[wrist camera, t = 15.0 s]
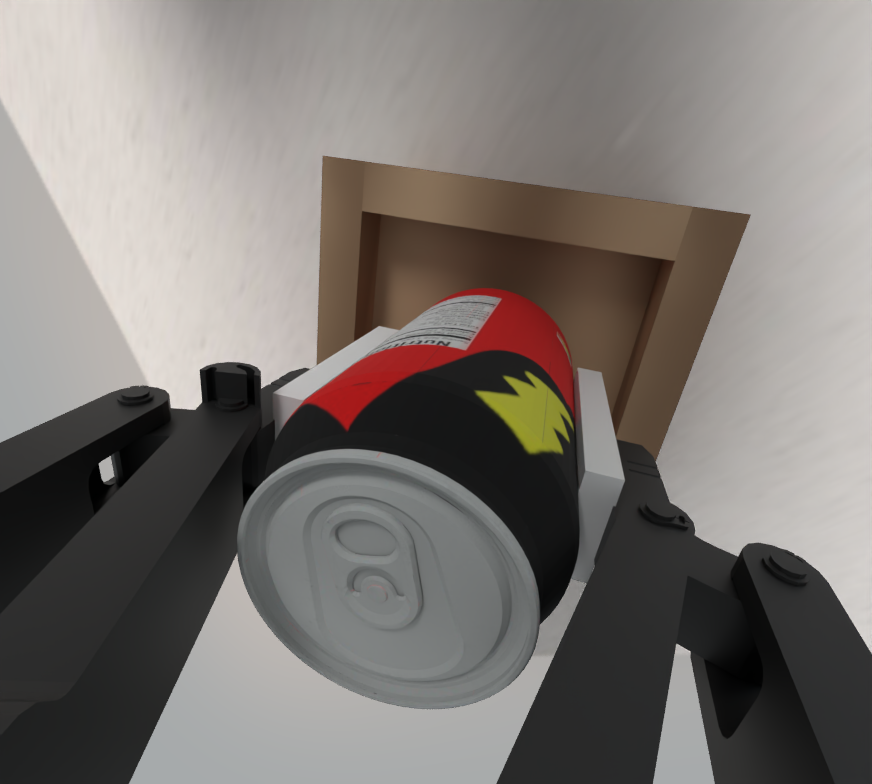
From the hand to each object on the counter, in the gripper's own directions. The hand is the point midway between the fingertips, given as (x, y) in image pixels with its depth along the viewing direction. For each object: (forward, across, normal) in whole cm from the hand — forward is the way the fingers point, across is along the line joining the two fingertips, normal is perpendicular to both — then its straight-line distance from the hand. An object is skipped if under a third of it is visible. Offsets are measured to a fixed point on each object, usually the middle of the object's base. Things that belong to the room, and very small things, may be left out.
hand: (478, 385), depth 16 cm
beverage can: (+3, 0, 0) cm, 3 cm away
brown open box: (+8, 0, 0) cm, 8 cm away
